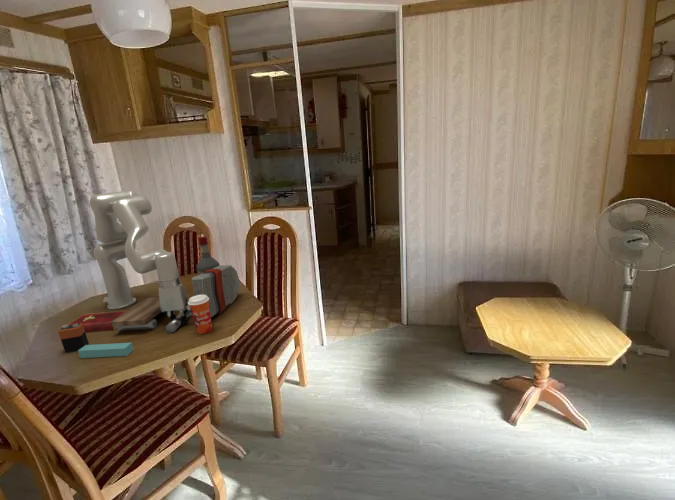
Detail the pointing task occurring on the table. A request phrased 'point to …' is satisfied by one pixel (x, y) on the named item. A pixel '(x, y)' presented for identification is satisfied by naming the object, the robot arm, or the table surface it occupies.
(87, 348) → the block
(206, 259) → the liquor
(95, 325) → the hardcover book
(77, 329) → the battery
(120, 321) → the walnut slab
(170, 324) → the roller
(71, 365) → the table surface
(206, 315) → the paper cup
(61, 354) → the table surface
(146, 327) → the front roller
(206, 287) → the decorative stone tablet
